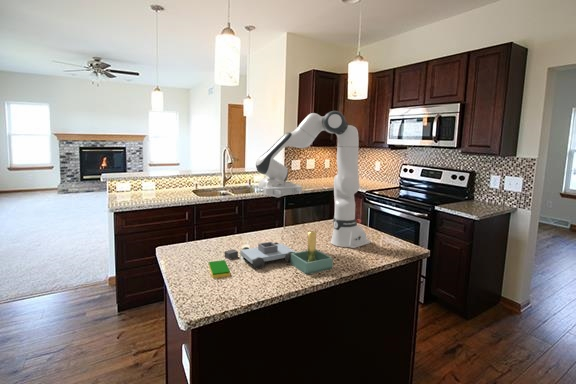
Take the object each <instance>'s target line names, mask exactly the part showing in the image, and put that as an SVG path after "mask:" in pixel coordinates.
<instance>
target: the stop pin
mask: <svg viewBox="0 0 576 384" xmlns="http://www.w3.org/2000/svg"><path fill="white" fill-rule="evenodd" d="M316 245H317V231H315V230H308V231H307V250H308V253H307V262H312V261H315V256H316V249H317V248H316V247H317V246H316Z"/></svg>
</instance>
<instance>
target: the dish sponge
mask: <svg viewBox="0 0 576 384" xmlns="http://www.w3.org/2000/svg"><path fill="white" fill-rule="evenodd" d="M208 268H209V270H210V274H211V276H212V278H213V279H218V278H224V277H230V276H231V271H230V269H229V268H230V267H228V263H227V262H226V260H224V259H223V260H222V259H221V260H213V261H209V262H208Z"/></svg>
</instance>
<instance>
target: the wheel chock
mask: <svg viewBox="0 0 576 384" xmlns="http://www.w3.org/2000/svg"><path fill="white" fill-rule="evenodd" d="M238 257H239V251H238V250H236V249H234V248H233V249H230V250H224V258H226V259H227V260H232V259H235V258H238Z"/></svg>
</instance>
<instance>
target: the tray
mask: <svg viewBox="0 0 576 384" xmlns="http://www.w3.org/2000/svg"><path fill="white" fill-rule="evenodd" d="M295 252H296V251H295ZM307 253H308V249H307V250H303V251H297V252H296V253H291V263H290V265H292V266H293V267H294V268H296V269H297V270H298V271H300V272H301V273H303V274H304V275H306V276H307V275H311V274H316V273H319V272H325V271H328V270H329V271H330V270H333V263H334V260H333V259H334V258H333V257H332V256H330V255H328V254H326V253H324V252H322V251H320V250H318V249H317V248H316V256H315V261H312V262H307Z"/></svg>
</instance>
